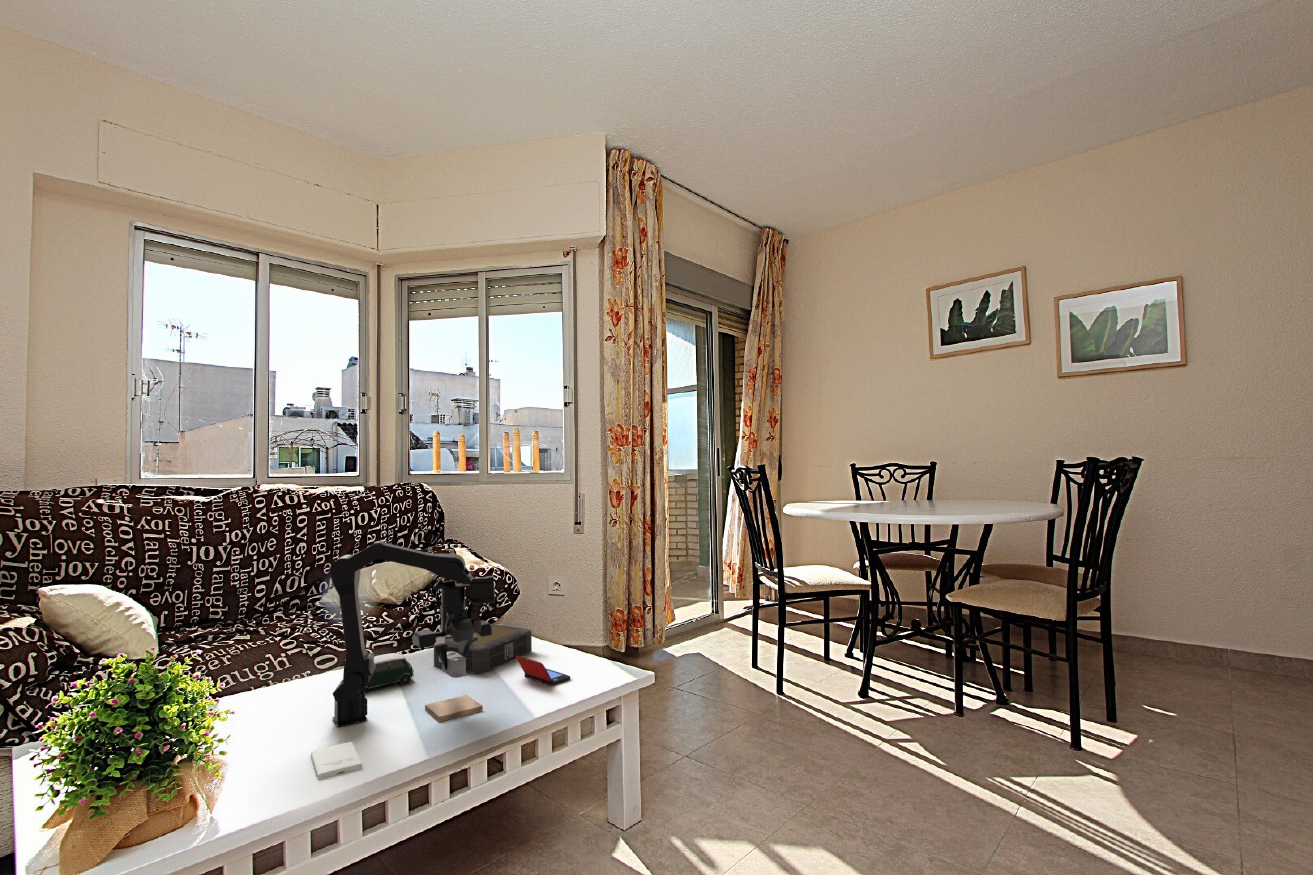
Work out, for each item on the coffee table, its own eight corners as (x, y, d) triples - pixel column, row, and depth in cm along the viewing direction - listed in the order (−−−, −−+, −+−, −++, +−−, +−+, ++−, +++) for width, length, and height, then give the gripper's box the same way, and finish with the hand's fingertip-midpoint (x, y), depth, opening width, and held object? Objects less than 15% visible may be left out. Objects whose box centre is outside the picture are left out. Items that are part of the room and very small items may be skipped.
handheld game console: (572, 680, 187) (572, 654, 187) (542, 690, 179) (541, 663, 179) (544, 671, 195) (544, 645, 195) (514, 680, 187) (514, 654, 187)
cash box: (483, 676, 192) (482, 649, 192) (431, 667, 201) (431, 641, 201) (535, 652, 214) (535, 628, 214) (486, 645, 223) (486, 622, 223)
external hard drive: (352, 748, 145) (362, 770, 134) (310, 758, 140) (317, 781, 130) (352, 741, 145) (362, 762, 134) (310, 750, 140) (317, 773, 130)
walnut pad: (439, 721, 158) (439, 716, 158) (425, 709, 166) (425, 704, 166) (482, 710, 164) (482, 705, 164) (467, 699, 172) (467, 694, 172)
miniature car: (340, 689, 182) (340, 660, 182) (406, 675, 193) (406, 647, 194) (348, 698, 175) (348, 667, 175) (416, 682, 186) (416, 654, 187)
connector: (453, 678, 160) (453, 662, 160) (436, 666, 170) (436, 651, 170) (467, 675, 163) (467, 659, 163) (449, 663, 172) (449, 648, 172)
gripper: (427, 617, 154) (427, 684, 153) (501, 605, 165) (501, 668, 165) (411, 608, 163) (411, 672, 162) (483, 598, 174) (483, 657, 173)
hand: (453, 667), depth 165 cm, fingers closed on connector, 4 cm apart
